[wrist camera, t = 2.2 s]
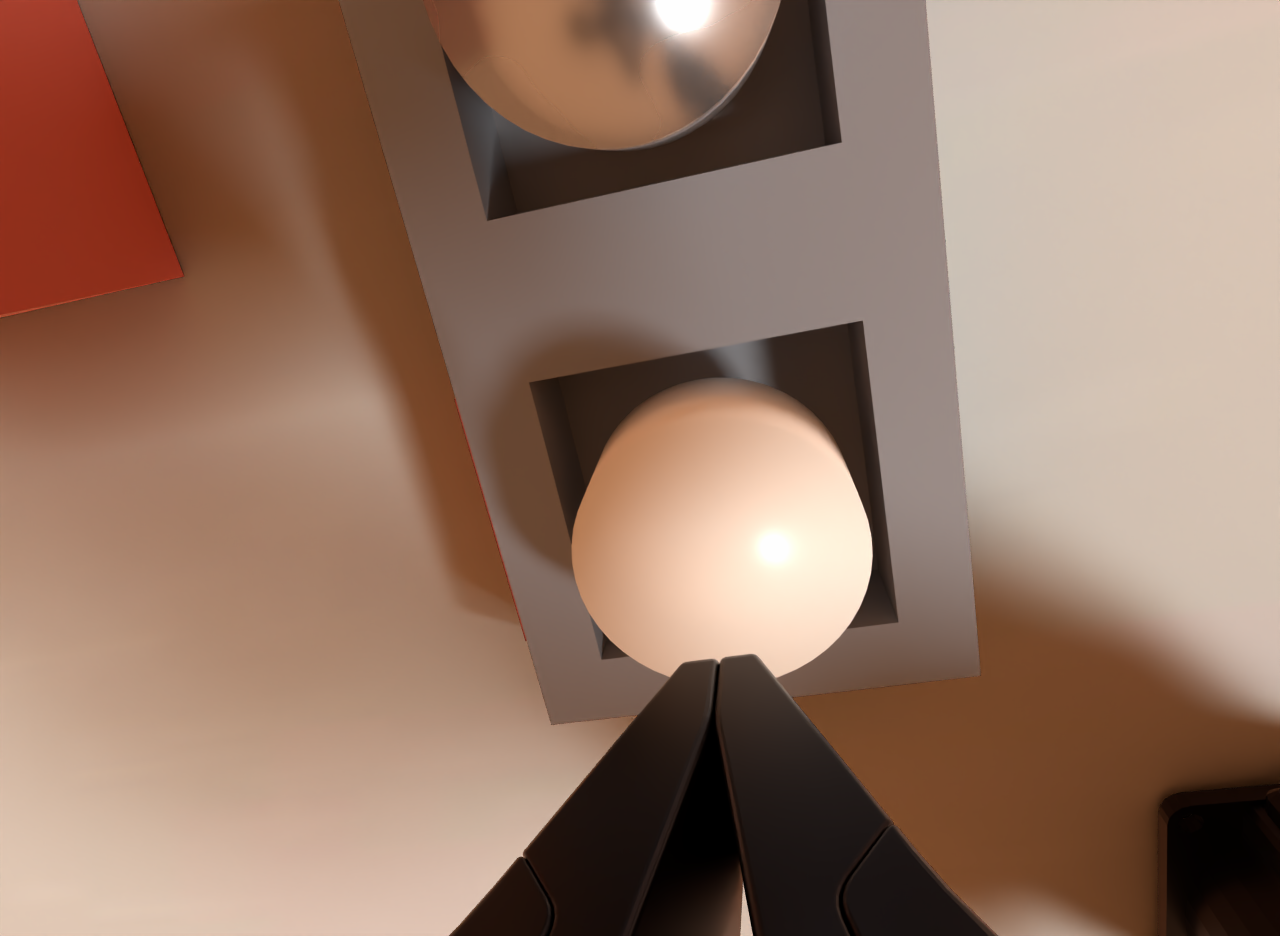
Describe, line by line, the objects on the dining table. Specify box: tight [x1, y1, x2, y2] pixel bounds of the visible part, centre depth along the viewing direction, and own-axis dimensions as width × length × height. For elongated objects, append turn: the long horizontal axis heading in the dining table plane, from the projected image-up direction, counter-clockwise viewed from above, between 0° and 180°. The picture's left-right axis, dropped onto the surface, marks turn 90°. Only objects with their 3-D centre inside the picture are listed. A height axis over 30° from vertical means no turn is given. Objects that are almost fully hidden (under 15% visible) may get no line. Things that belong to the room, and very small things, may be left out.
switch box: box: [339, 0, 981, 725], centre depth 14 cm, size 16×8×3 cm, turn 12°
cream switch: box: [571, 378, 873, 677], centre depth 13 cm, size 4×4×2 cm
